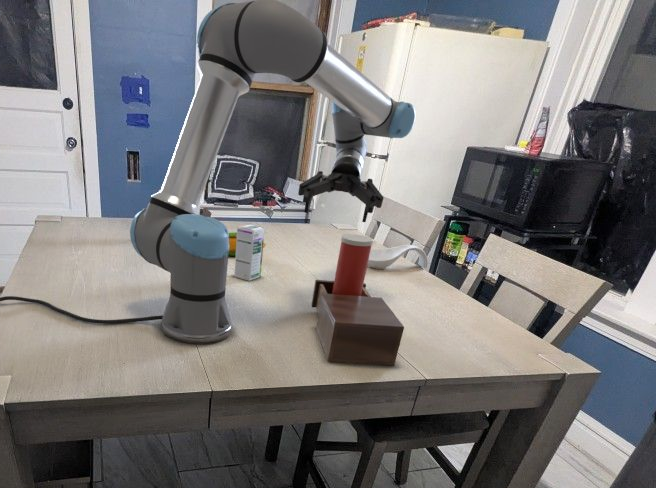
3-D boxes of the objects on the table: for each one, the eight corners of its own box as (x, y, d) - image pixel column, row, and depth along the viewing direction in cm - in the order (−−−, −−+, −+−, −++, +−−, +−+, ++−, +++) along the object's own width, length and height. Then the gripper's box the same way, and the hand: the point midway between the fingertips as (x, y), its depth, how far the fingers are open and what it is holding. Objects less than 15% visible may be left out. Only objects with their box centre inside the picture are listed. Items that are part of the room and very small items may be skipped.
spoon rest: (367, 271, 157) (372, 249, 153) (352, 261, 167) (356, 240, 163) (432, 272, 162) (438, 250, 158) (413, 262, 172) (419, 241, 168)
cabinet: (315, 328, 112) (321, 293, 108) (373, 332, 112) (381, 297, 108) (327, 361, 98) (335, 322, 93) (394, 366, 98) (404, 326, 94)
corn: (206, 228, 160) (263, 229, 165) (204, 251, 164) (260, 250, 169) (211, 235, 154) (270, 235, 159) (209, 258, 158) (267, 258, 163)
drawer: (308, 299, 126) (312, 274, 123) (355, 302, 127) (361, 277, 124) (320, 330, 109) (325, 301, 106) (374, 333, 110) (381, 305, 106)
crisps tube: (333, 320, 112) (348, 241, 103) (323, 309, 118) (337, 233, 109) (361, 320, 113) (378, 242, 104) (350, 309, 119) (365, 234, 110)
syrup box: (249, 281, 139) (254, 230, 132) (233, 276, 142) (237, 225, 135) (260, 277, 143) (265, 227, 136) (244, 272, 146) (248, 223, 139)
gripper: (391, 192, 126) (386, 235, 113) (297, 177, 130) (281, 217, 117) (399, 163, 121) (394, 205, 107) (301, 149, 125) (284, 188, 111)
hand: (335, 212), depth 112 cm, fingers open, 13 cm apart
